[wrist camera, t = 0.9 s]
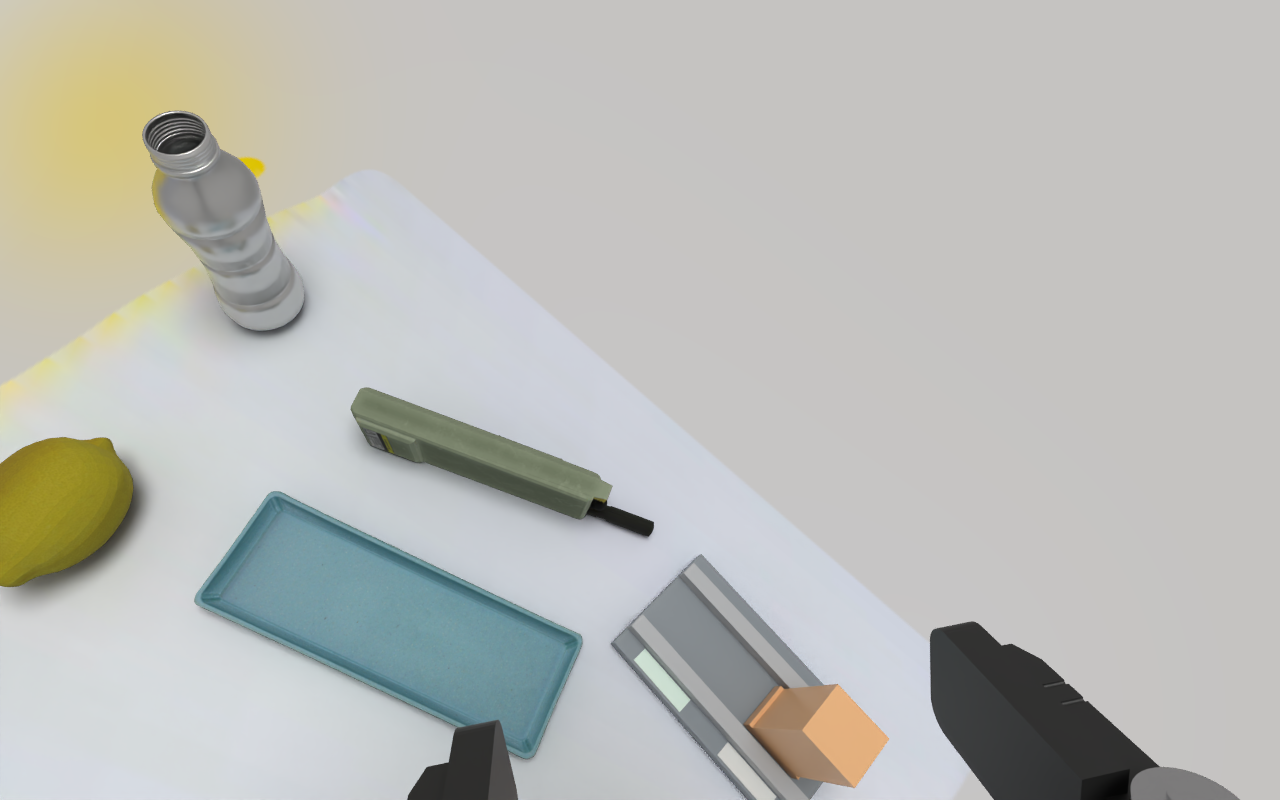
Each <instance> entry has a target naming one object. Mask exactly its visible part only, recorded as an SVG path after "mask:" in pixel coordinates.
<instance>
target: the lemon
mask: <svg viewBox="0 0 1280 800" xmlns="http://www.w3.org/2000/svg"><path fill="white" fill-rule="evenodd" d="M132 494H133V479H132V477H131V474H130V472H129V469H128V468H127V467H126V466H125V465H124V463H123V462H122V461H121V460H120V458H119V457H118V456H117V455H116V452H115V450H114V447H113V444H112V442H111V441H110V439H108V438H94V439H91V440H77V439H72V438H66V437H60V438H50V439H46V440H42V441H39V442H35V443H33V444H31V445H28V446H26V447H23V448H22V449H20V450H19V451H17V452H15V453H14V454H12V455H11V456H10V457H8V458H7V459H6V460H4V461H3V462H2V463H1V464H0V586H3V587H16V586H20V585H22V584H24V583H26V582H28V581H29V580H31V579H33V578H35V577H38V576H42V575H46V574H50V573H55V572H59V571H61V570H64V569H66V568H69V567H71V566H73V565H75V564H77V563H79V562H80V561H82V560H84V559H85V558H87V557H88V556H90V555H91V554H93V553H94V552H95V551H97V550H98V549H99V548H100V547H101V546H103V545H104V544H105V543H106V542H107V541H108V539H109V538H110V537H111V536H112V535H113V534H114V532H115V531H116V530H117V528H118V527H119V525H120V524H121V522H122V521H123V519H124V517H125V515H126V513H127V511H128V509H129V506H130V503H131V500H132Z"/></svg>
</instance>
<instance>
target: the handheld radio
mask: <svg viewBox="0 0 1280 800" xmlns="http://www.w3.org/2000/svg"><path fill="white" fill-rule="evenodd" d="M351 411H352V414H353V416H354V418H355V419H356V421H357V423H358V425H359V427H360V428H361V430H362V432H363V434H364V436H365V437H366V439H367V441H368V443H369V444H370V445H371V446H374V447H376V448H379V449H382V450H384V451H387V452H390V453H392V454H395V455H398V456H400V457H403V458H406V459H408V460H411V461H414V462H419V463H421V462H426V463H429V464H431V465H434V466H437V467H439V468H442V469H445V470H447V471H450V472H453V473H455V474H458V475H461V476H463V477H466V478H469V479H472V480H474V481H477V482H480V483H482V484H485V485H488V486H490V487H493V488H496V489H498V490H501V491H504V492H506V493H509V494H512V495H514V496H517V497H520V498H522V499H525V500H528V501H531V502H533V503H536V504H539V505H541V506H544V507H547V508H549V509H552V510H555V511H557V512H560V513H563V514H565V515H568V516H571V517H573V518H576V519H582V518H584V517H585V515H586V513H587V514H589V515H592V516H595V517H596V516H597V517H600V518H603V519H605V520H606V521H608V522H611V523H613V524H616V525H619V526H621V527H624V528H627V529H629V530H632V531H635V532H637V533H640V534H643V535H645V536H648V537H649V535H650V534H651V533H652V531H653V529H654V522H652V521H650V520H647V519H644V518H642V517H639V516H636V515H634V514H631V513H628V512H626V511H623V510H620V509H618V508H615V507H612V506H611V507H610V506H607V499H608V497H609V494H610V492H611V489H612V485H610V484H608V483H606V482H604V481H602V480H601V478H600V476H599V475H598V474H596V473H594V472H592V471H589V470H586V469H584V468H581V467H579V466H576V465H573V464H571V463H568V462H566V461H563V460H562V459H560V458H557V457H554V456H552V455H549V454H546V453H544V452H541V451H538V450H536V449H533V448H530V447H528V446H525V445H522V444H520V443H517V442H514V441H512V440H509V439H506V438H504V437H501V436H500V435H499V436H498V435H495V434H492V433H490V432H487V431H484V430H482V429H479V428H476V427H474V426H471V425H468V424H466V423H463V422H460V421H458V420H455V419H452V418H449V417H447V416H444V415H441V414H439V413H436V412H433V411H431V410H428V409H425V408H423V407H420V406H417V405H414V404H412V403H409V402H406V401H404V400H401V399H398V398H396V397H393V396H390V395H388V394H385V393H382V392H379V391H377V390H374V389H371V388H362V389H360V390H359V392H358V394H357V396H356V398H355V400H354V402H353V404H352V406H351Z"/></svg>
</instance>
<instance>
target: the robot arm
mask: <svg viewBox="0 0 1280 800" xmlns="http://www.w3.org/2000/svg"><path fill="white" fill-rule="evenodd" d="M930 670H931V702H932V707H933V710H934V714H935V716H936V719H937V721H938V724H939V726H940V728H941V729H942V731H943V733H944V734H945V736H946V737H947V738H948V740H949V741H950V742H951V744H952V745H953V746H954V748H955V749H956V750H957V752H958V753H959V754H960V755H961V757H962V758H963V759H964V761H965V762H966V763H967V765H968V766H969V767H970V769H971V770H972V771H973V773H974V774H975V775H976V777H977V778H978V779H979V781H980V782H981V783H982V785H983V786H984V787H985V788H986V790H987V791H988V792H989V794H990V795H991V796H992V798H993V799H994V800H1240V799H1238V798H1237V797H1236V796H1235V795H1234V794H1232V793H1231V792H1230V791H1228V790H1227V789H1226V788H1224V787H1223V786H1221V785H1219V784H1218V783H1216V782H1214V781H1212V780H1210V779H1208V778H1206V777H1203V776H1201V775H1198V774H1196V773H1192V772H1189V771H1186V770H1182V769H1177V768H1169V767H1159V766H1158V765H1157V764H1156V763H1155V762H1154V761H1153V760H1152V759H1151V758H1149V757H1148V756H1147V755H1146V754H1145V753H1144V752H1143V751H1142V750H1141V749H1140V748H1138V747H1137V746H1136V745H1135V744H1134V743H1133V742H1132V741H1131V740H1130V739H1128V738H1127V737H1126V736H1125V735H1124V734H1123V733H1122V732H1121V731H1120V730H1119V729H1118V728H1116V727H1115V726H1114V725H1113V724H1112V723H1111V722H1110V721H1109V720H1108V719H1107V718H1105V717H1104V716H1103V715H1102V714H1101V713H1100V712H1099V711H1098V710H1096V708H1095V707H1093V706H1092V705H1091V704H1090V703H1089V702H1088V701H1087V702H1085V701H1084V700H1083V697H1082V696H1081V695H1080V694H1079V693H1078V692H1077V691H1076V690H1075V689H1074V688H1073V687H1071V686H1070V685H1069V684H1065V682H1064V679H1063V678H1061V677H1060V676H1059V675H1058V674H1057V673H1056V672H1055V671H1054V670H1053V669H1052V668H1051V667H1049V666H1048V665H1047V664H1046V663H1045V662H1044V661H1043V660H1042V659H1040V658H1038V657H1036V656H1034V655H1032V654H1030V653H1028V652H1026V651H1024V650H1022V649H1021V648H1019V647H1017V646H1015V645H1013V644H1008V645H1003V646H1001V645H1000V644H999V643H998V642H997V641H996V640H995V639H994V638H993V637H992V636H991V635H990V634H989V633H988V632H987V631H986V630H985V629H984V628H983V627H982V626H980V625H979V624H978V623H976V622H967V623H962V624H957V625H952V626H947V627H942V628H937V629H934V630H933V631H932V633H931V636H930ZM407 800H518V796H517V790H516V785H515V781H514V777H513V772H512V768H511V764H510V759H509V755H508V751H507V746H506V742H505V738H504V733H503V729H502V726H501V723H500V721H499V720H493V721H489V722H484V723H479V724H474V725H469V726H464V727H459V728H456V730H455V732H454V736H453V742H452V747H451V753H450V758H449V763H444V764H439V765H434V766H430V767H427V768H426V769H425V771H424V772H423V774H422V775H421V777H420V778H419V780H418V781H417V783H416V784H415V786H414V787H413V789H412V790H411V792H410V793H409V795H408V799H407Z"/></svg>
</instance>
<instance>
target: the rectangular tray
mask: <svg viewBox="0 0 1280 800" xmlns="http://www.w3.org/2000/svg"><path fill="white" fill-rule="evenodd" d="M194 601H195V604H197V605H198V606H200V607H202V608H204V609H206V610H209V611H211V612H213V613H216V614H218V615H220V616H222V617H224V618H226V619H229V620H231V621H233V622H235V623H237V624H239V625H242V626H244V627H246V628H248V629H250V630H252V631H254V632H256V633H258V634H261V635H263V636H265V637H267V638H269V639H272V640H274V641H276V642H278V643H280V644H282V645H284V646H287V647H289V648H291V649H293V650H296V651H298V652H300V653H302V654H304V655H306V656H308V657H310V658H313V659H315V660H317V661H319V662H321V663H323V664H325V665H327V666H329V667H331V668H333V669H336V670H338V671H340V672H342V673H344V674H346V675H349V676H351V677H353V678H355V679H357V680H359V681H361V682H363V683H365V684H368V685H370V686H372V687H374V688H376V689H379V690H381V691H382V692H385V693H387V694H389V695H391V696H393V697H395V698H397V699H400V700H402V701H404V702H406V703H408V704H410V705H412V706H414V707H416V708H419V709H421V710H423V711H425V712H427V713H429V714H431V715H433V716H436V717H438V718H440V719H442V720H444V721H446V722H448V723H450V724H452V725H454V726H456V727H464V726H469V725H474V724H479V723H484V722H489V721H493V720H499V721H500V723H501V726H502V729H503V733H504V738H505V742H506V746H507V750H508V751H510V752H512V753H514V754H516V755H517V756H519V757H521V758H524V759H530V758H531V757H533V756H534V755H535V753H536V751H537V748H538V746H539V744H540V741H541V739H542V736H543V734H544V731H545V729H546V726H547V724H548V721H549V719H550V717H551V715H552V712H553V710H554V707H555V705H556V703H557V700H558V698H559V696H560V694H561V691H562V689H563V687H564V685H565V683H566V680H567V678H568V676H569V673H570V671H571V669H572V667H573V664H574V662H575V660H576V658H577V656H578V653H579V651H580V649H581V646H582V636H581V635H580V634H578V633H576V632H574V631H572V630H569V629H567V628H565V627H563V626H560V625H558V624H556V623H554V622H552V621H549V620H547V619H545V618H543V617H541V616H539V615H537V614H534V613H532V612H530V611H528V610H526V609H524V608H522V607H520V606H518V605H516V604H513V603H511V602H509V601H507V600H505V599H503V598H501V597H498V596H496V595H494V594H492V593H490V592H488V591H486V590H484V589H482V588H479V587H477V586H475V585H473V584H471V583H469V582H467V581H465V580H463V579H461V578H459V577H456V576H454V575H452V574H450V573H448V572H446V571H444V570H442V569H440V568H437V567H435V566H433V565H431V564H429V563H427V562H425V561H423V560H421V559H419V558H417V557H415V556H412V555H410V554H408V553H406V552H404V551H402V550H400V549H398V548H396V547H394V546H392V545H389V544H387V543H385V542H383V541H381V540H379V539H377V538H375V537H372V536H370V535H368V534H366V533H364V532H362V531H360V530H358V529H356V528H353V527H351V526H349V525H347V524H345V523H343V522H341V521H339V520H336V519H334V518H332V517H330V516H328V515H326V514H324V513H322V512H320V511H318V510H316V509H314V508H312V507H310V506H307V505H305V504H303V503H301V502H299V501H297V500H295V499H293V498H291V497H289V496H288V495H286V494H284V493H282V492H278V491H274V492H271V493H269V494H268V495H267V497H266V498H265V499H264V501H263V502H262V504H261V505H260V507H259V508H258V509H257V511H256V513H255V514H254V515H253V517H252V518H251V519H250V521H249V522H248V524H247V525H246V527H245V528H244V530H243V531H242V533H241V534H240V535H239V536H238V538H237V539H236V541H235V542H234V543H233V545H232V546H231V548H230V549H229V551H228V552H227V553H226V555H225V556H224V557H223V559H222V560H221V561H220V563H219V564H218V565H217V567H216V568H215V570H214V571H213V572H212V573H211V575H210V576H209V578H208V579H207V580H206V582H205V583H204V584H203V586H202V587H201V588H200V590H199V591H198V592H197V594H196V596H195V600H194Z"/></svg>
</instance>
